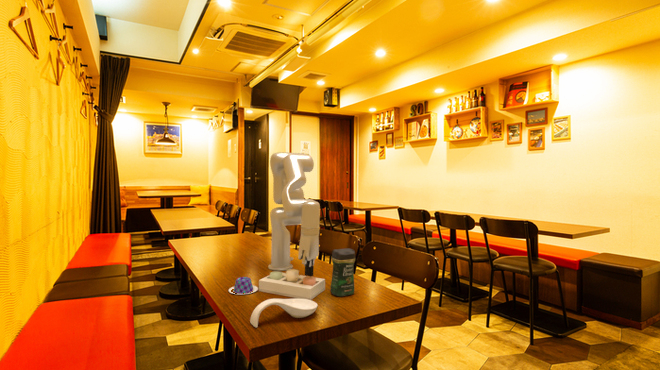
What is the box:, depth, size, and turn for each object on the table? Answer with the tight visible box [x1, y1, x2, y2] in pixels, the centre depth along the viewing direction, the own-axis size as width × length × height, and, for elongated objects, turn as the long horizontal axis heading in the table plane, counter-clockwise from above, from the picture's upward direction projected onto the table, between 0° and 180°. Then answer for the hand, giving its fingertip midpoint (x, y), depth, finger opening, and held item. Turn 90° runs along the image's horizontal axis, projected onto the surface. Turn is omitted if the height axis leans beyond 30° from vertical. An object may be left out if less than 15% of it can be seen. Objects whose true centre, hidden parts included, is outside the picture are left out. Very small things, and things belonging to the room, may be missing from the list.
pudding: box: [228, 276, 259, 295], centre depth 141 cm, size 12×12×5 cm
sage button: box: [269, 270, 283, 280], centre depth 145 cm, size 5×5×5 cm
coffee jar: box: [330, 247, 356, 297], centre depth 139 cm, size 10×8×19 cm
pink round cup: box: [303, 276, 317, 286], centre depth 139 cm, size 5×5×5 cm
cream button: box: [285, 268, 300, 283], centre depth 142 cm, size 5×5×5 cm
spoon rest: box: [249, 298, 319, 328], centre depth 115 cm, size 24×12×7 cm, turn 126°
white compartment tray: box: [258, 272, 326, 301], centre depth 142 cm, size 14×24×4 cm, turn 67°
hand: (308, 275), depth 139 cm, fingers closed
